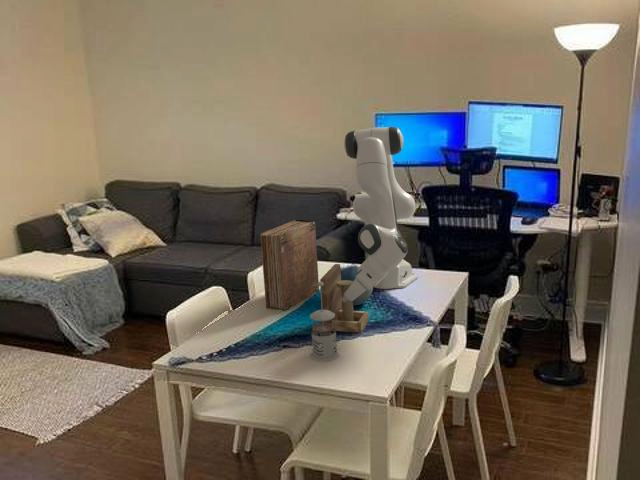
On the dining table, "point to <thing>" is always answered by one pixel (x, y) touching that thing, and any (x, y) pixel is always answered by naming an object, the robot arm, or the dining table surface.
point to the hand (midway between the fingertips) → (345, 298)
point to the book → (289, 264)
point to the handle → (346, 306)
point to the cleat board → (339, 303)
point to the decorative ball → (350, 275)
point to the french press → (323, 336)
